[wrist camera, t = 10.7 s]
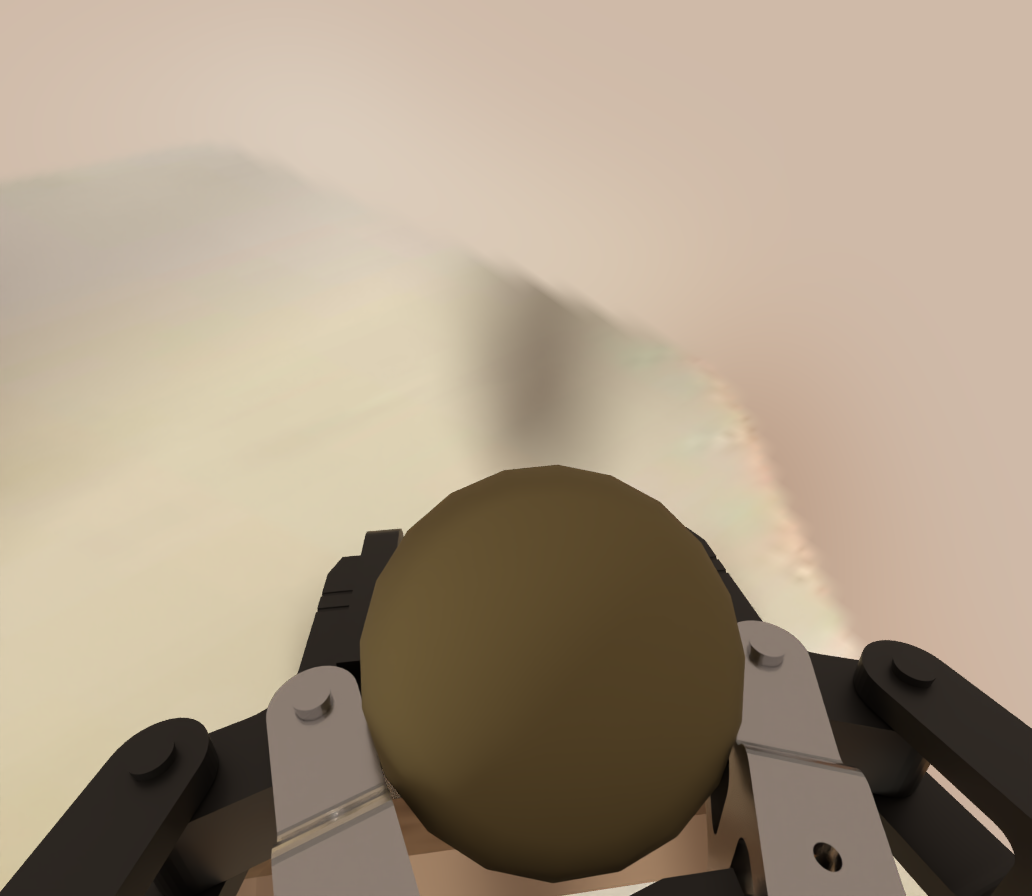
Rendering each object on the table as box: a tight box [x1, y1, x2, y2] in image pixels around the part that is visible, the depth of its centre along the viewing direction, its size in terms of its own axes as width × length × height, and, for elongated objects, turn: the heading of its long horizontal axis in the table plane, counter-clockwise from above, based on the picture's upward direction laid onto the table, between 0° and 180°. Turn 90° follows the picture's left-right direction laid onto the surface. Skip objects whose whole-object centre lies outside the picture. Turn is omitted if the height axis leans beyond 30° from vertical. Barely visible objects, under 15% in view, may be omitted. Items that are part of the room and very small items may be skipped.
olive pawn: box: [360, 465, 745, 883], centre depth 11 cm, size 6×6×11 cm
